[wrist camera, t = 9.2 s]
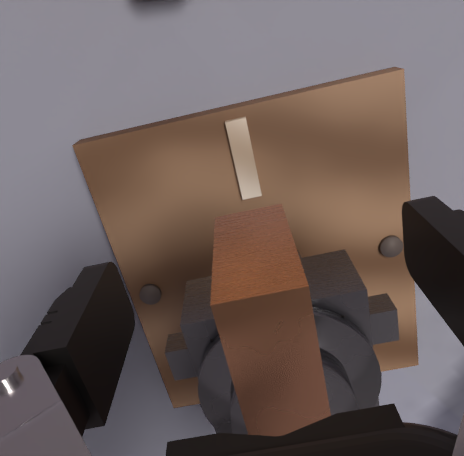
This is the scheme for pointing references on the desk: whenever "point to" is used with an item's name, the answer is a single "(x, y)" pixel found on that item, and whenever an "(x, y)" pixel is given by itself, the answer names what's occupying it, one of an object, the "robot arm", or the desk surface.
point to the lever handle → (278, 331)
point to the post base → (260, 196)
